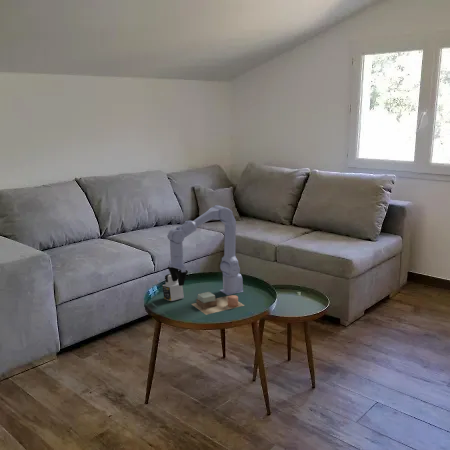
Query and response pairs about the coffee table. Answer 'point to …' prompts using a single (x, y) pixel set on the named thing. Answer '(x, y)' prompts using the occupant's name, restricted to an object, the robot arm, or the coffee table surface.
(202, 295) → the tower top
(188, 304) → the coffee table surface
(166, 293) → the medicine bottle
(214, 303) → the tower base
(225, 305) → the board
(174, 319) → the coffee table surface
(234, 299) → the cylinder
